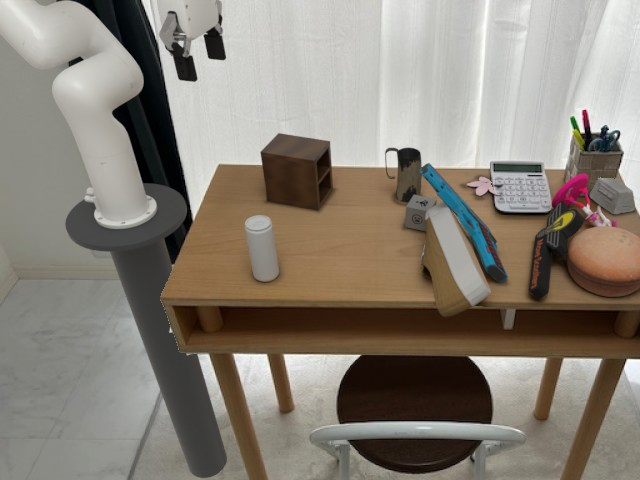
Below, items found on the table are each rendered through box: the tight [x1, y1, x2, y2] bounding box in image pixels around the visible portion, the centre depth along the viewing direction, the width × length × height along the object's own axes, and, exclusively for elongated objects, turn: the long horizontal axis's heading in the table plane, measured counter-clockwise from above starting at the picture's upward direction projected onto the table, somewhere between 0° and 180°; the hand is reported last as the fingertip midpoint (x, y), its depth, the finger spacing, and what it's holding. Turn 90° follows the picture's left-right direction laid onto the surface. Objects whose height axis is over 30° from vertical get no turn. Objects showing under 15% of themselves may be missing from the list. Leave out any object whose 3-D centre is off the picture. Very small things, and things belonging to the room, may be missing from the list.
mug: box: [384, 147, 423, 206], centre depth 134 cm, size 8×6×12 cm
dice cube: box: [404, 195, 438, 232], centre depth 128 cm, size 5×5×5 cm
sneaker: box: [420, 200, 492, 318], centre depth 115 cm, size 10×29×10 cm
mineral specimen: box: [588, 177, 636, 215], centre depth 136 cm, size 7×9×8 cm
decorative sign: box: [528, 201, 585, 300], centre depth 119 cm, size 27×2×10 cm
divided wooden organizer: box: [259, 132, 334, 211], centre depth 134 cm, size 12×9×12 cm
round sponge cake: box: [566, 226, 640, 298], centre depth 116 cm, size 16×16×10 cm
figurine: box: [551, 173, 618, 227], centre depth 129 cm, size 10×10×15 cm
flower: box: [466, 176, 501, 197], centre depth 141 cm, size 10×10×2 cm
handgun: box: [420, 162, 509, 283], centre depth 115 cm, size 23×3×15 cm
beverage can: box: [244, 214, 280, 283], centre depth 113 cm, size 5×5×12 cm
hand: (203, 69), depth 103 cm, fingers open, 9 cm apart
